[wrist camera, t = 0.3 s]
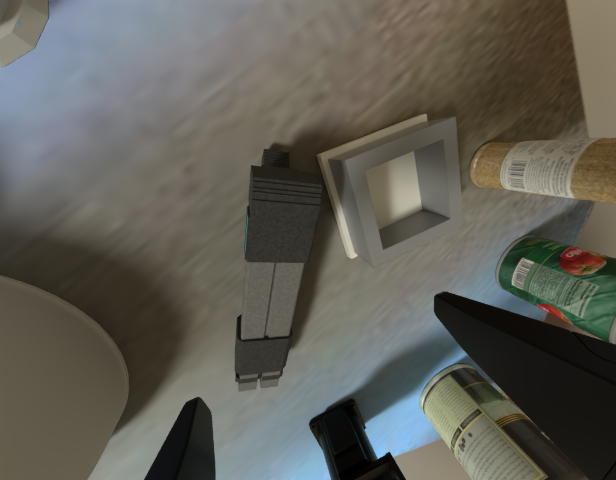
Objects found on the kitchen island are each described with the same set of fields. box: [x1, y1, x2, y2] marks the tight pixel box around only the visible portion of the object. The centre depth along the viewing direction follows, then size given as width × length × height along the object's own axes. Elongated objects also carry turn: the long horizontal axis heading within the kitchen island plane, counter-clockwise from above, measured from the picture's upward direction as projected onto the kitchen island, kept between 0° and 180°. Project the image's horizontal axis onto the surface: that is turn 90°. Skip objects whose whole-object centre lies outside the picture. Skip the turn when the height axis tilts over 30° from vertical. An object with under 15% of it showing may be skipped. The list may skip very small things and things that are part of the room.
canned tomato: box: [496, 235, 616, 344], centre depth 27 cm, size 8×8×11 cm
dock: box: [317, 114, 464, 268], centre depth 21 cm, size 10×10×4 cm
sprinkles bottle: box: [470, 138, 616, 203], centre depth 19 cm, size 5×5×13 cm
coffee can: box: [420, 364, 589, 480], centre depth 31 cm, size 10×10×14 cm
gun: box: [235, 149, 323, 391], centre depth 21 cm, size 4×20×10 cm, turn 172°
